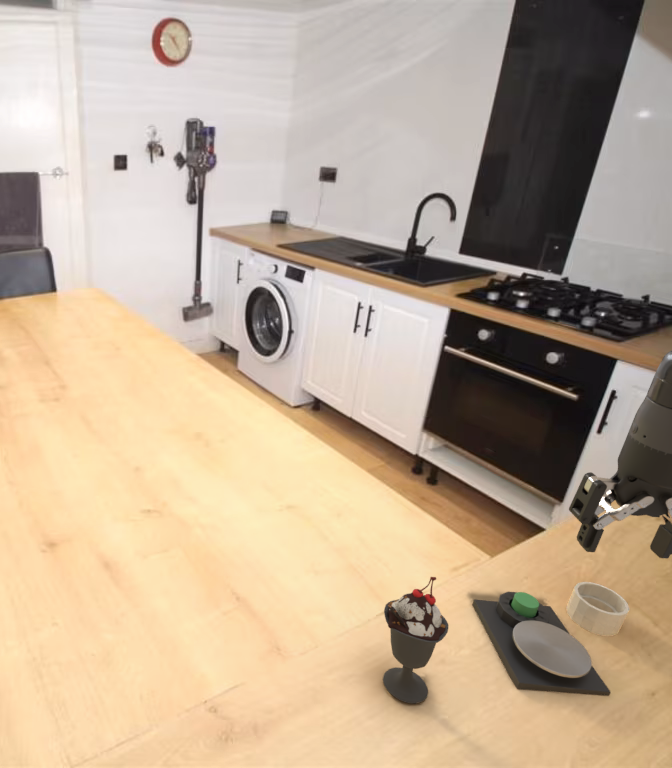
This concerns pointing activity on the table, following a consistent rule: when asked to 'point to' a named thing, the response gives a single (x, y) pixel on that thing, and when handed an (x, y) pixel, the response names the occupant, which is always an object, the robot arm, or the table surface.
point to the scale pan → (552, 649)
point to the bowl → (597, 608)
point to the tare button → (525, 604)
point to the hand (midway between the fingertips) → (621, 551)
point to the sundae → (412, 642)
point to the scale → (520, 669)
